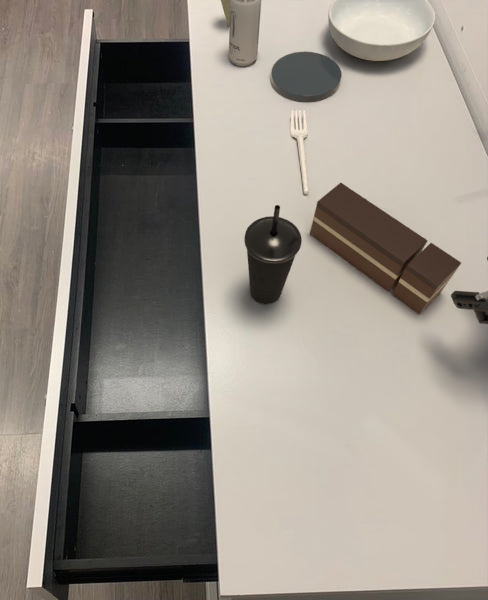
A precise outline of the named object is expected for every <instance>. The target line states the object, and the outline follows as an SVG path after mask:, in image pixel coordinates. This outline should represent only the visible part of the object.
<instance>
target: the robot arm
mask: <svg viewBox="0 0 488 600" xmlns="http://www.w3.org/2000/svg"><path fill="white" fill-rule="evenodd" d="M486 260H487V261H488V256H487V257H486ZM450 297H451V299H452V302H453V304H454V306H455V307H456V308H457V309H459V310H460V309H461V310H469V311H473V312H474V314H475V317H476V319H477V322H478V323H479V324H483V325H488V290H487V291H483V292H480V291H466V290H465V291H464V290H454V291H453V292H452V293H451V294H450Z"/></svg>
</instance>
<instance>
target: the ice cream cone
mask: <svg viewBox="0 0 488 600" xmlns="http://www.w3.org/2000/svg"><path fill="white" fill-rule="evenodd" d="M220 2H221V7H222V10H223V14H224V17H225V22H226V26H227V28H229V23H230V0H220Z"/></svg>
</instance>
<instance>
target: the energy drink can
mask: <svg viewBox="0 0 488 600" xmlns="http://www.w3.org/2000/svg"><path fill="white" fill-rule="evenodd" d="M261 10H262V0H230V23H229V27H228V28H229V30H228V31H229V32H228V58H229V60H230V61H231V63H232V64H234V65H236V66H238V67H247V66H250V65H252V64H253V63H254V62H255V61H256V60H257V58H258V55H259V54H258V52H259V40H260V39H259V38H260V23H261V13H262V12H261Z"/></svg>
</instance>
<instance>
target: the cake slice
mask: <svg viewBox="0 0 488 600" xmlns="http://www.w3.org/2000/svg"><path fill="white" fill-rule="evenodd" d="M461 264H462V262H461V261H460V260H458V259H457V258H455V257H454V256H452V255H451V254H449V253H447V252H446V251H444V250H443V249H441V248H440V247H439V246H437V245H436V244H434V243H432V242H430V243H428V245H426V247H424V248H423V250H422V252H421V253H420V254H418V255H417V256H416V257H415V258H414V259H413V260H412V261H411V262H410V263H409V264H408V265H407V267H406V269H405V271H404V273H403V274H402V276H401V278H400V280H399V282H398V284H397V285H396V286H395V287H394V288H393V291H392V293H391V295H392V296H393V297H395V298H396V299H398V300H399V301H400V302H402V303H403V304H405V305H406V306H407V307H409V308H410V309H411V310H413V311H414V312H416V313H417V314H418V315H420V314H421V313H422V312H423V311H424V310H426V308H427V307H428V306H429V305H430V304H431V303H432V302H433V301H434V300H435V299H436V298H437V297H438V296H439V295H440V294H441V293H442V292H443V290H444V289H445V288H446V286H447V284H448V283H449V282H450V280H451V279H452V278H453V276H454V274H455V273H456V271H458V268H459V267H460V266H461Z"/></svg>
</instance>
